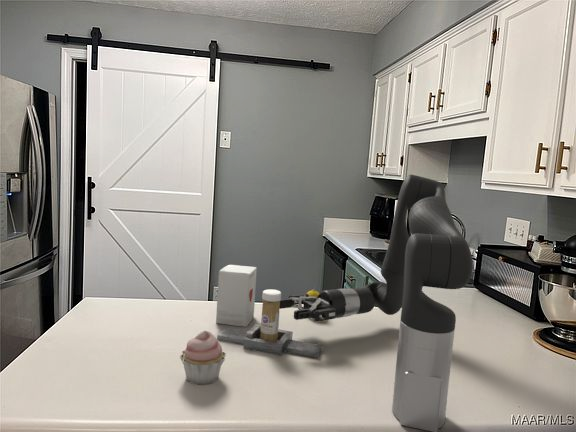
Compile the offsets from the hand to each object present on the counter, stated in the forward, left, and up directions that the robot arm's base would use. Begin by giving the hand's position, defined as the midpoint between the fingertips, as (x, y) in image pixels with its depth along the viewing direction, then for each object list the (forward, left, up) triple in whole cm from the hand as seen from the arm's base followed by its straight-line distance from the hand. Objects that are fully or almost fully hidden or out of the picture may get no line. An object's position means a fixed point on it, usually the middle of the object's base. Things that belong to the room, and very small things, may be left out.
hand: (286, 309), depth 104 cm
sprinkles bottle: (-3, +3, -9) cm, 10 cm away
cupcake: (-24, +10, -9) cm, 27 cm away
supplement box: (+9, +17, -9) cm, 21 cm away
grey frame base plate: (-3, +3, -8) cm, 9 cm away
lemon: (+23, -2, -9) cm, 25 cm away
